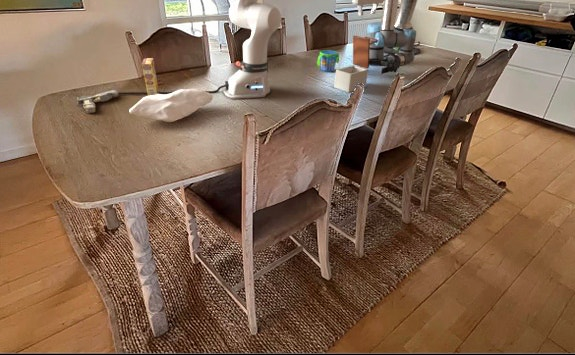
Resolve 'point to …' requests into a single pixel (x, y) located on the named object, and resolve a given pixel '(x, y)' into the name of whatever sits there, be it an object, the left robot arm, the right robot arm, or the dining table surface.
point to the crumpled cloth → (171, 104)
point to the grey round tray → (389, 50)
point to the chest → (350, 78)
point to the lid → (362, 50)
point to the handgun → (95, 100)
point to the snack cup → (328, 60)
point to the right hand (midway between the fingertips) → (371, 67)
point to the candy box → (150, 76)
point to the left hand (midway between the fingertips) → (366, 14)
